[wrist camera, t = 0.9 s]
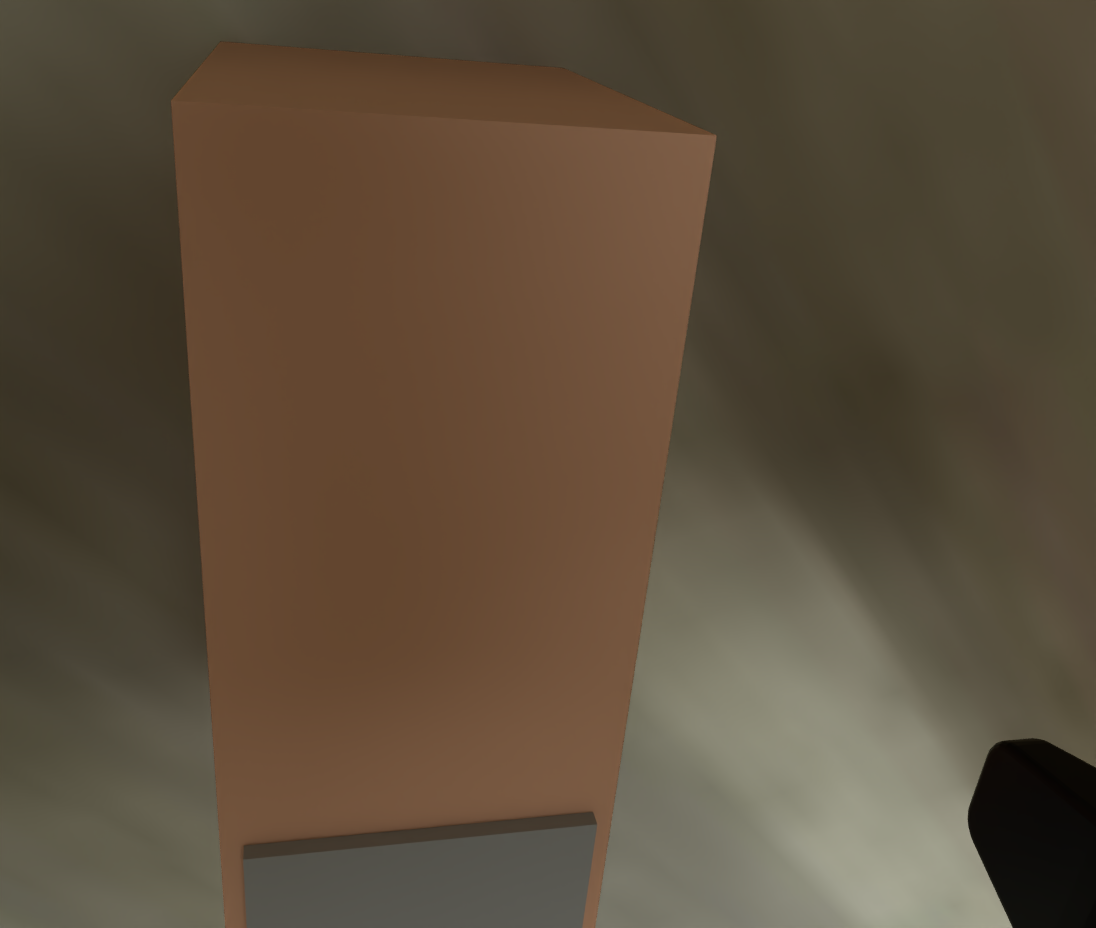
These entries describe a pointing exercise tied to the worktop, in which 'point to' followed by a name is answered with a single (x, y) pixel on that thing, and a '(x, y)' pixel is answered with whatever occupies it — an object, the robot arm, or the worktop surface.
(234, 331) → the terracotta block
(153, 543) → the worktop surface
